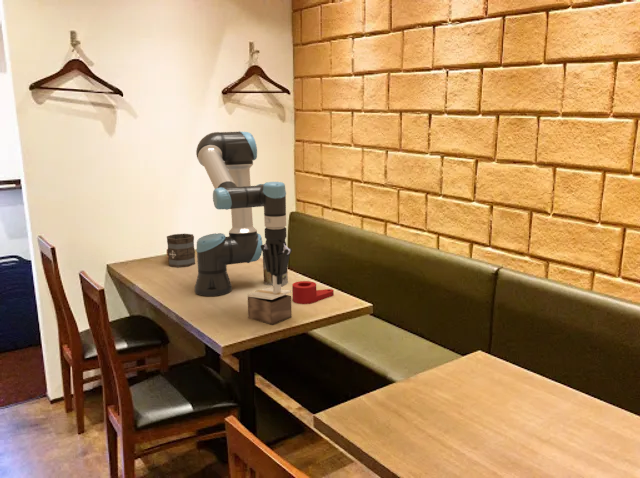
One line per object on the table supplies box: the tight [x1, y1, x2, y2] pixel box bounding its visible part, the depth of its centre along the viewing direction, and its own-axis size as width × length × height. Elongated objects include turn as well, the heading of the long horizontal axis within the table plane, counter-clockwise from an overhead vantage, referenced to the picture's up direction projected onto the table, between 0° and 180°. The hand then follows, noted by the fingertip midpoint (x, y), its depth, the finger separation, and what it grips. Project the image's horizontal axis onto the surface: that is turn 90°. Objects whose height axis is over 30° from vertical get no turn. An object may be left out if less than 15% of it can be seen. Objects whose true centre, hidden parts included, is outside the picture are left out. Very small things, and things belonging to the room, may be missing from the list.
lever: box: [291, 280, 334, 305], centre depth 225 cm, size 18×9×7 cm, turn 121°
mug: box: [166, 233, 196, 269], centre depth 276 cm, size 20×14×15 cm
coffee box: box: [262, 254, 289, 288], centre depth 243 cm, size 9×6×16 cm
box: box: [247, 294, 293, 326], centre depth 204 cm, size 12×10×8 cm
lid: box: [247, 287, 292, 300], centre depth 203 cm, size 12×10×1 cm
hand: (277, 292), depth 200 cm, fingers closed, pressing on lid
